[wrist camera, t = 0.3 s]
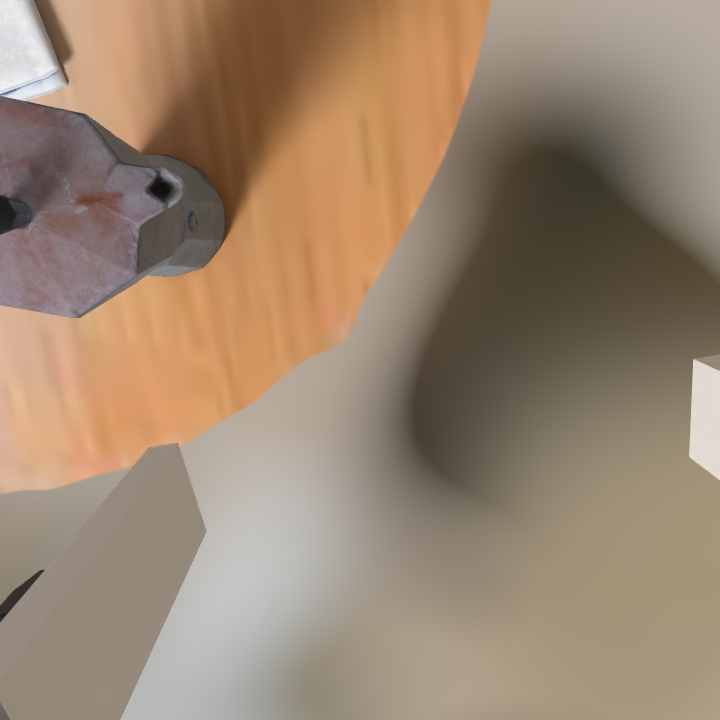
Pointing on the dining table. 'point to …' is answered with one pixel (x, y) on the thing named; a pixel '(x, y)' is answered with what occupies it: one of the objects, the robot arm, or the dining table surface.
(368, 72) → the dining table surface
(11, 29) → the bicycle print cloth
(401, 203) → the dining table surface
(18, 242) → the moka pot
